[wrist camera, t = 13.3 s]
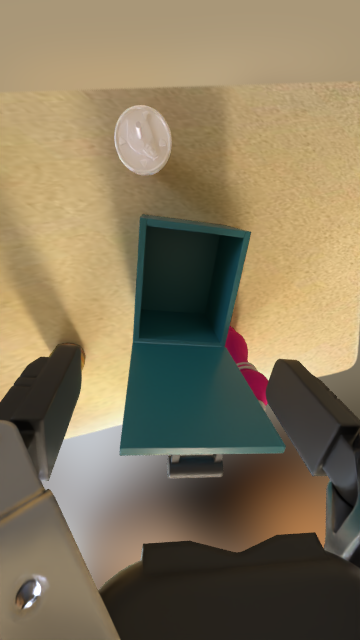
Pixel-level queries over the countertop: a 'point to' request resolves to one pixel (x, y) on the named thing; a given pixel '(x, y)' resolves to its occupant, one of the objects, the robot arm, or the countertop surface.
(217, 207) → the countertop surface
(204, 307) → the cool box
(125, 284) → the countertop surface
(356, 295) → the countertop surface
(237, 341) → the pepper mill
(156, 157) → the smoothie
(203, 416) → the lid
